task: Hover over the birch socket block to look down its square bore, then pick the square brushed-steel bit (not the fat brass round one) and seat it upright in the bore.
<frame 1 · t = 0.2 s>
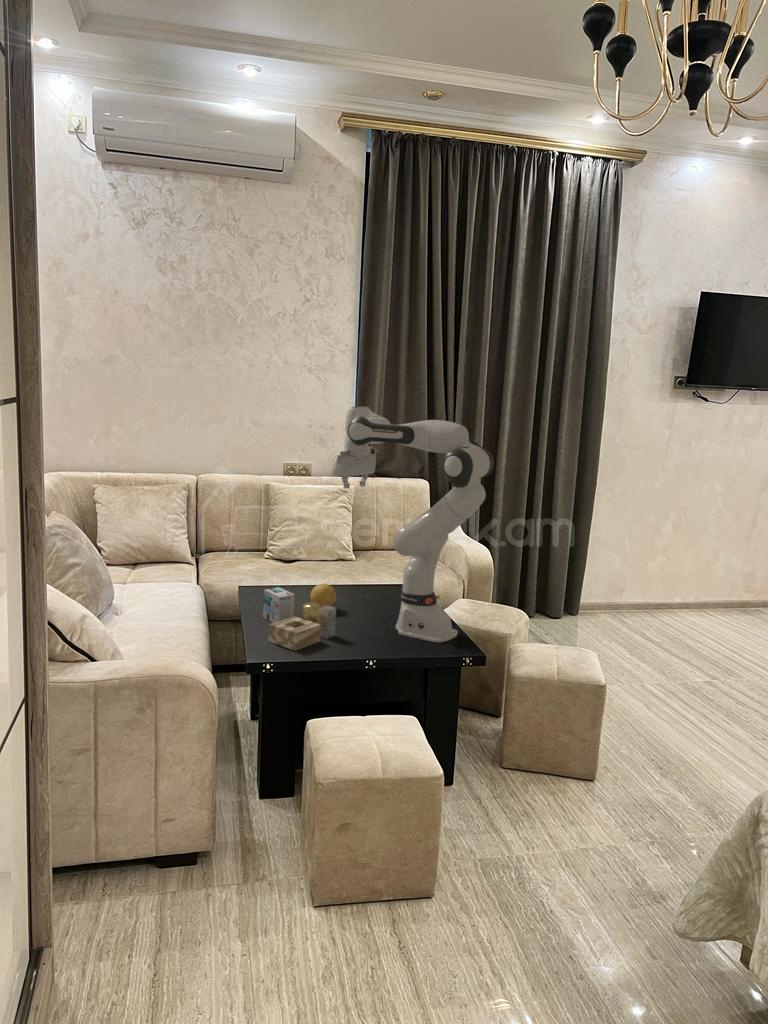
hand: (354, 487, 282), 48 cm above the table, fingers open, 8 cm apart
light bulb box: (278, 620, 274), on the table
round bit: (310, 626, 269), on the table
stress ball: (322, 609, 290), on the table
socket block: (294, 641, 254), on the table
square bit: (326, 635, 261), on the table
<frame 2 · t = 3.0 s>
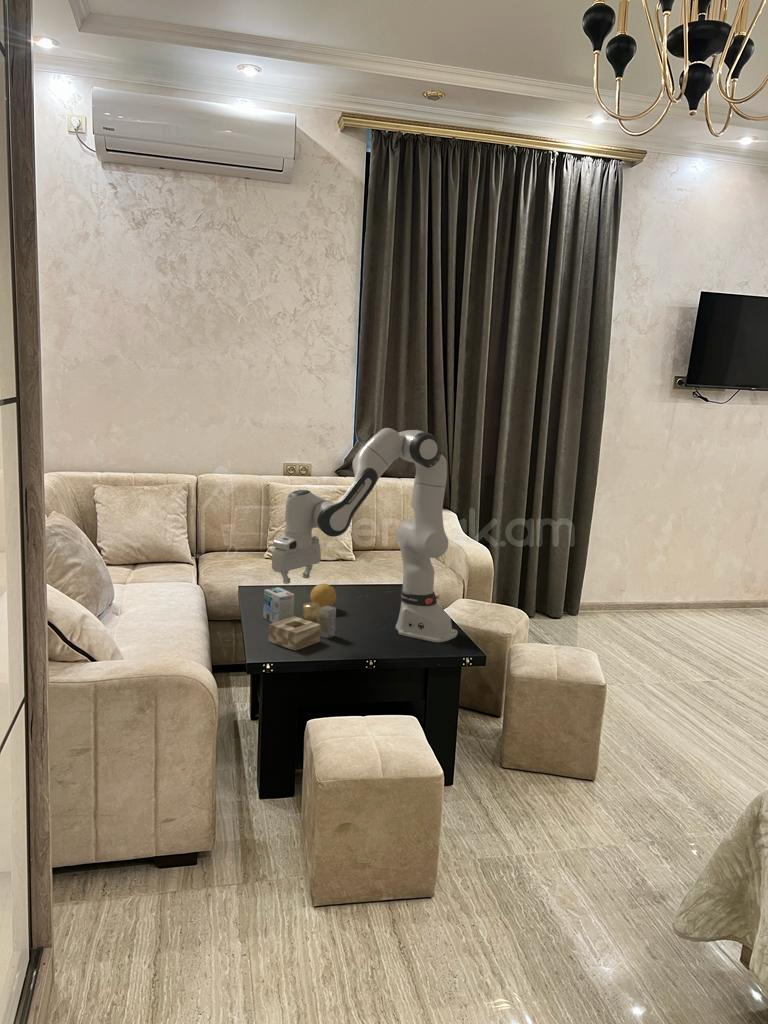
hand: (296, 580, 250), 21 cm above the table, fingers open, 8 cm apart
nothing on the table moved.
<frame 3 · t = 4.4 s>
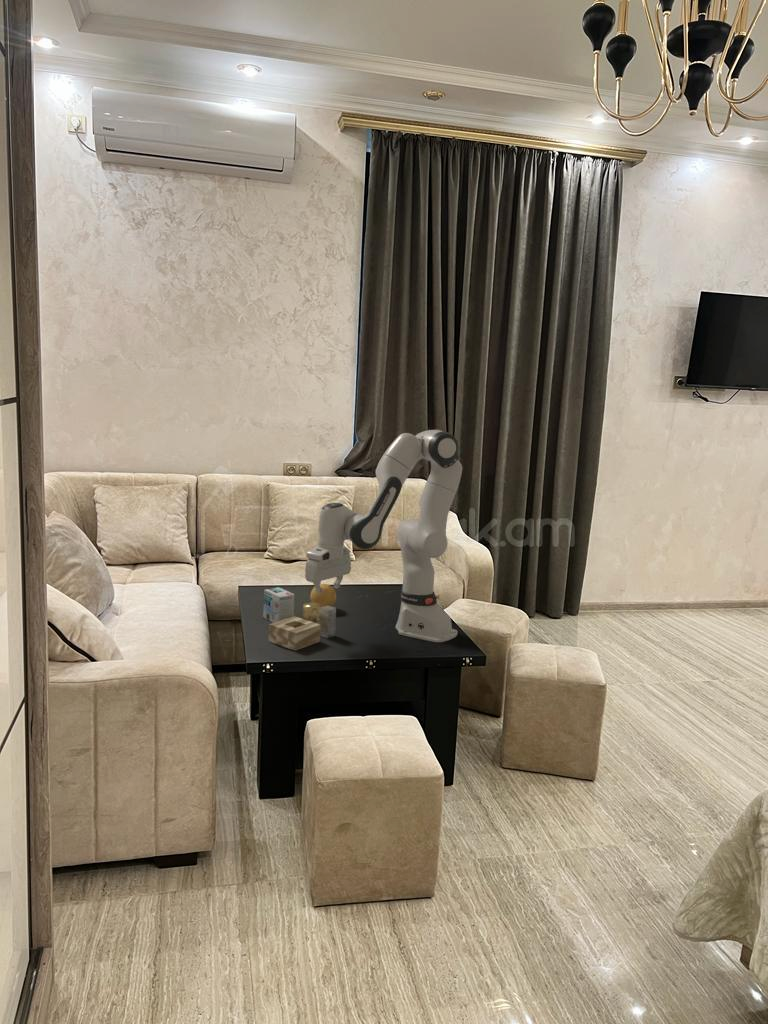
hand: (327, 590, 258), 16 cm above the table, fingers open, 8 cm apart
nothing on the table moved.
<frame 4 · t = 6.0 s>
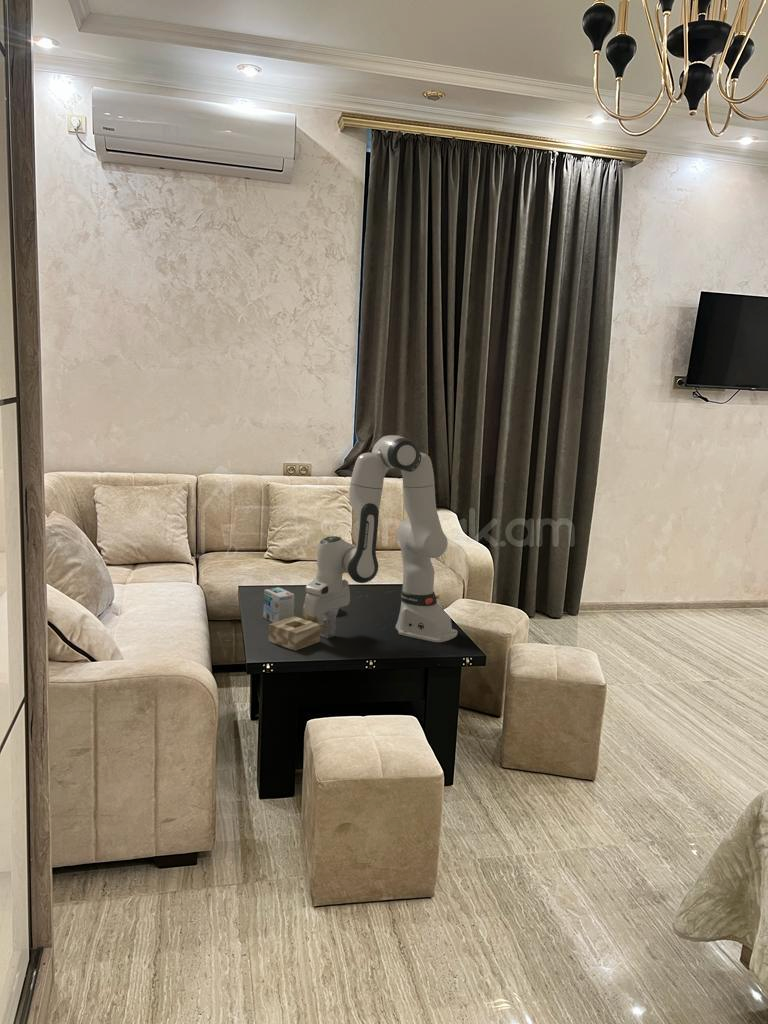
hand: (327, 622, 260), 5 cm above the table, fingers closed on square bit, 4 cm apart
square bit: (326, 635, 261), on the table, touching gripper
everything else where it was.
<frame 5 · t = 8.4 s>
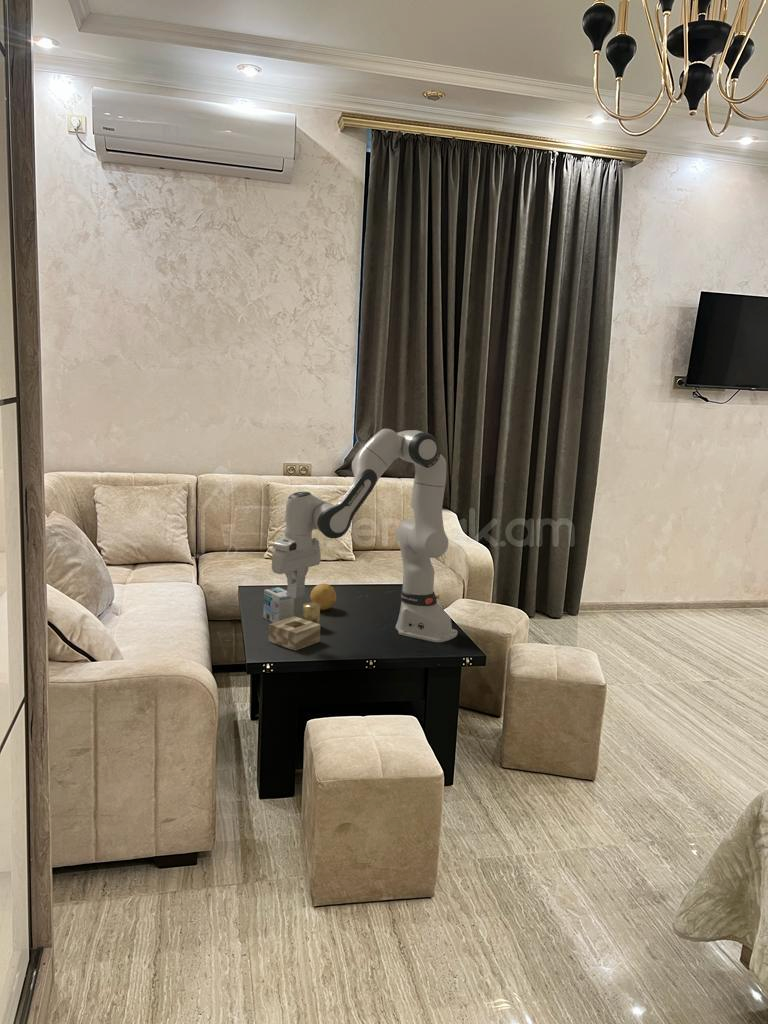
hand: (296, 582, 250), 21 cm above the table, fingers closed on square bit, 4 cm apart
square bit: (295, 595, 251), point 16 cm above the table, touching gripper
everything else where it was.
when the fingers open (7 cm above the table, at t = 10.9 s): square bit stays where it is, resting on socket block.
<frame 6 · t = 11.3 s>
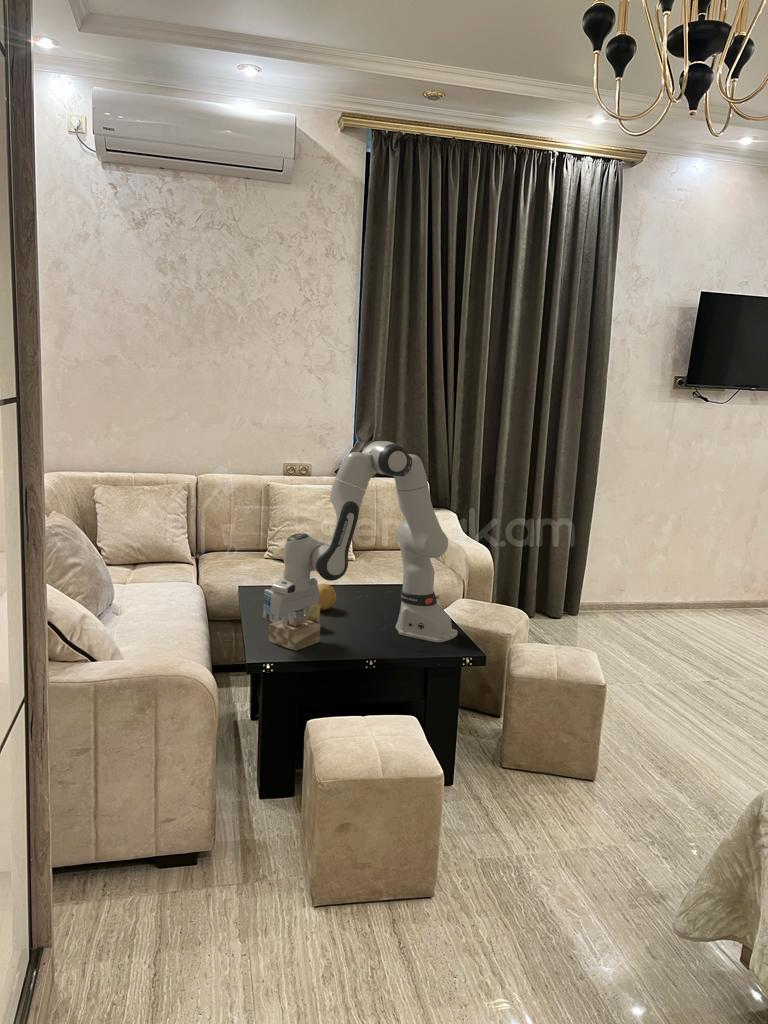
hand: (295, 622, 253), 7 cm above the table, fingers open, 8 cm apart
square bit: (294, 638, 254), point 1 cm above the table, touching socket block
everything else where it was.
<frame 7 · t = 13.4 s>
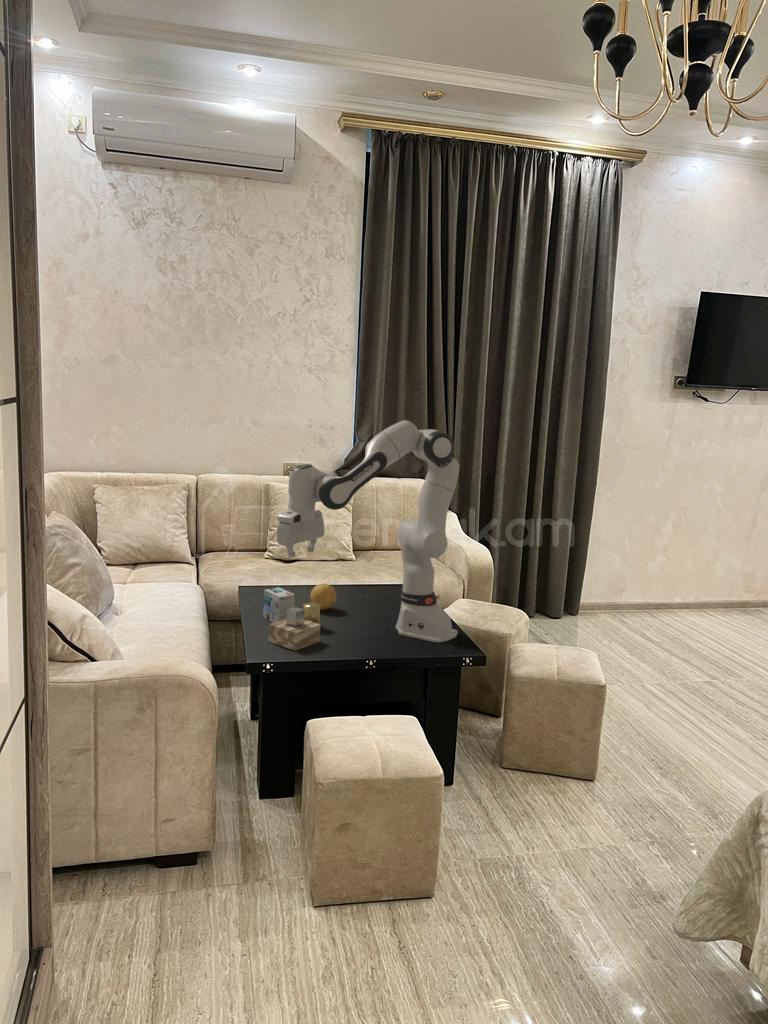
hand: (301, 554, 254), 29 cm above the table, fingers open, 8 cm apart
nothing on the table moved.
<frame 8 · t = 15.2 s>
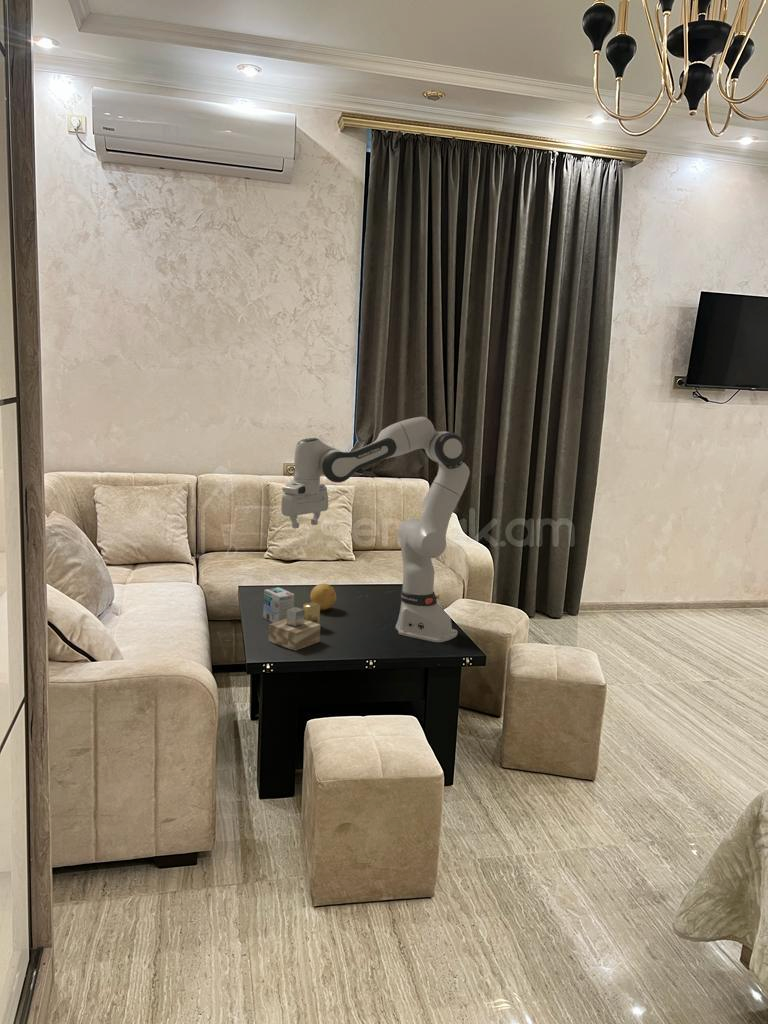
hand: (305, 526, 259), 37 cm above the table, fingers open, 8 cm apart
nothing on the table moved.
at the end: square bit 0.1 cm off-centre on the socket block, point 1.1 cm above the socket block's base; square bit tilted 0°; the gripper is holding nothing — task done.
